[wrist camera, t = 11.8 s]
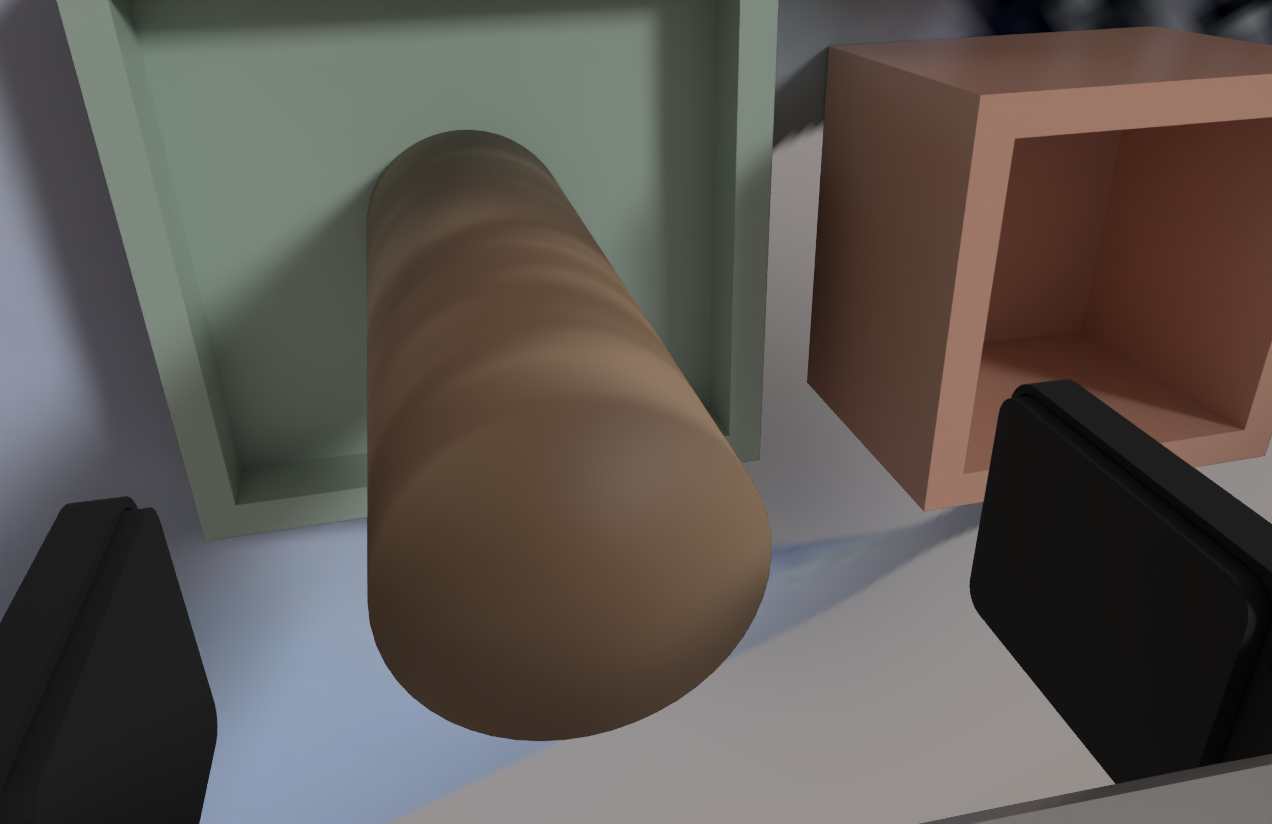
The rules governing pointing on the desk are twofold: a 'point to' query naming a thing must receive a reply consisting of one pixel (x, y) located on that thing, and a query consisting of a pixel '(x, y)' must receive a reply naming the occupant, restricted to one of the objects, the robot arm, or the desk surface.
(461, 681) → the walnut peg
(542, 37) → the sage tray
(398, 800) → the desk surface
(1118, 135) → the terracotta box
